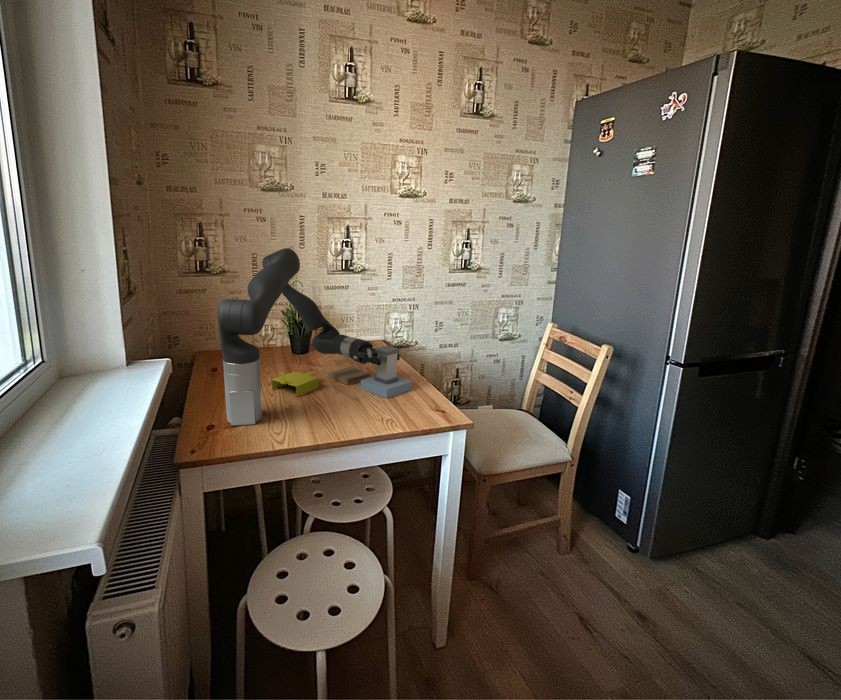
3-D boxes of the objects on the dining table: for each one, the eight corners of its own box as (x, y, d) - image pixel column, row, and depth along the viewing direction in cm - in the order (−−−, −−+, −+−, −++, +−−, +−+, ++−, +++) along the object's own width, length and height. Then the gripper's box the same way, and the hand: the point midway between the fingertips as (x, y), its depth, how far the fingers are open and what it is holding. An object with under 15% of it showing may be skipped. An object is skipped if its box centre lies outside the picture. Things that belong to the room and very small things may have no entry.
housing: (398, 380, 162) (399, 349, 159) (386, 384, 158) (387, 352, 155) (386, 376, 166) (387, 345, 163) (374, 380, 162) (375, 348, 159)
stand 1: (369, 378, 172) (369, 373, 171) (347, 385, 164) (347, 379, 164) (350, 372, 178) (350, 366, 177) (328, 378, 171) (328, 372, 170)
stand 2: (411, 389, 163) (412, 381, 163) (386, 398, 155) (386, 389, 154) (386, 380, 171) (386, 372, 170) (360, 388, 162) (360, 380, 161)
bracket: (332, 365, 161) (300, 377, 149) (332, 387, 163) (301, 401, 151) (297, 356, 168) (264, 367, 156) (298, 378, 171) (265, 390, 158)
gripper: (340, 342, 163) (374, 352, 153) (371, 335, 173) (405, 345, 163) (340, 363, 165) (373, 375, 155) (371, 355, 175) (404, 366, 165)
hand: (389, 359), depth 159 cm, fingers open, 8 cm apart
